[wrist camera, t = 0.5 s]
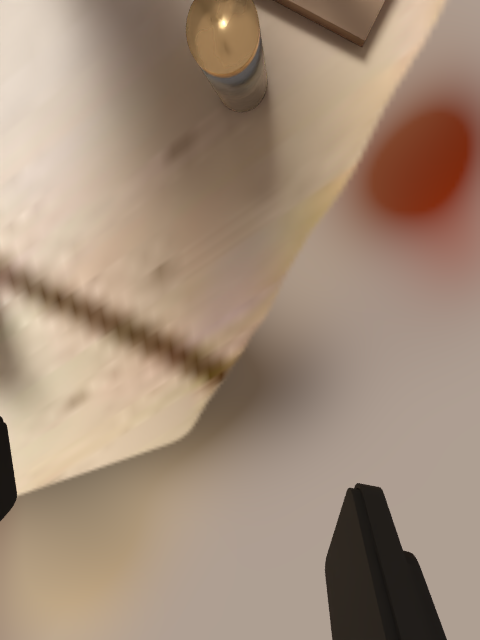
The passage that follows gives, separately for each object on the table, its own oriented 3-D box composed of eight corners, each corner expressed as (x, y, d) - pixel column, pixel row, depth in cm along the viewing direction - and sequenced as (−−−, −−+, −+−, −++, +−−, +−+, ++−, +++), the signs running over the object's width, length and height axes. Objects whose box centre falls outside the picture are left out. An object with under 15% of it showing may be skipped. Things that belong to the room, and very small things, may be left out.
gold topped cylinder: (209, 66, 29) (174, 4, 20) (257, 43, 29) (244, -33, 19) (227, 120, 31) (202, 86, 21) (273, 99, 30) (268, 54, 20)
